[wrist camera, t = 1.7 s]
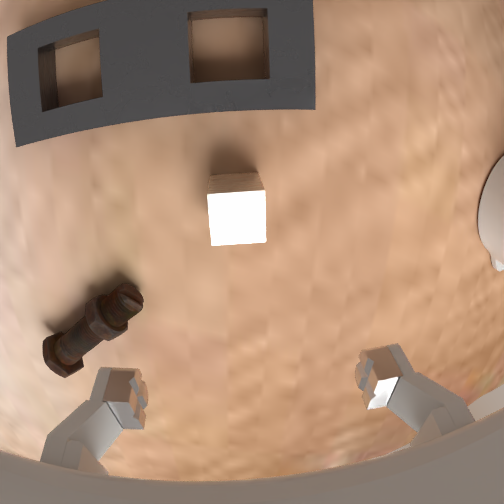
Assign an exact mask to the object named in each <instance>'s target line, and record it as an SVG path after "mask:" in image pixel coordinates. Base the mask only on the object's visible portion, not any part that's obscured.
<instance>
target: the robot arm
mask: <svg viewBox="0 0 504 504" xmlns="http://www.w3.org/2000/svg"><path fill="white" fill-rule="evenodd" d="M478 228H479V235H480V238H481V241H482V243H483V245H484V246H485V248H486V249H487V250H488V251H489V253H490V255H491V261H492V266H493V267H494V268H495V269H496V270H498V271H502V270H504V156H503V157H502V158H501V159H500V160H499V161H498V163H497V164H496V165H495V167H494V168H493V170H492V172H491V174H490V176H489V178H488V180H487V182H486V185H485V187H484V190H483V193H482V197H481V201H480V206H479V214H478ZM359 359H360V362H359V363H358V364H357V365H356V369H355V379H356V383H357V386H358V388H359V389H361V390H362V391H364V392H363V394H362V399H363V401H364V404H365V406H366V409H367V410H369V409H374V408H378V407H383V406H387V408H389V409H390V410H391V411H392V412H393V413H395V414H396V415H397V416H398V417H399V418H401V419H402V420H403V421H404V422H405V423H407V424H408V425H409V426H410V427H412V428H413V429H414V430H415V431H416V432H418V433H417V434H416V435H415V437H414V438H413V440H412V441H411V443H410V446H411V447H409V448H406V449H403V450H400V451H397V452H393V453H390V454H386V455H383V456H379V457H375V458H372V459H368V460H364V461H360V462H356V463H351V464H347V465H343V466H338V467H333V468H328V469H323V470H317V471H311V472H305V473H299V474H292V475H284V476H276V477H267V478H257V479H244V480H225V481H170V480H152V479H139V478H129V477H120V476H112V475H108V471H107V470H106V468H105V467H104V466H103V465H102V464H101V463H100V462H99V459H100V458H101V457H102V456H103V454H104V453H105V452H106V451H107V450H108V448H109V447H110V446H111V445H112V443H113V442H114V441H115V440H116V438H117V437H118V436H119V435H120V433H121V432H122V431H123V429H144V425H145V418H146V414H145V412H144V410H143V409H144V408H145V407H146V406H147V404H148V390H147V386H146V384H145V382H144V381H142V380H141V377H142V374H141V372H140V370H139V369H133V368H110V367H101V368H100V369H99V370H98V373H97V377H96V380H95V383H94V386H93V390H92V393H91V396H90V400H86V401H85V402H84V403H82V404H81V405H80V406H79V407H78V408H77V409H76V410H75V411H74V412H72V413H71V414H70V415H69V416H68V417H67V418H66V419H65V420H64V421H62V422H61V423H60V424H59V425H58V426H57V427H56V428H55V429H53V430H52V431H51V432H50V433H49V434H48V435H47V439H46V442H45V445H44V449H43V452H42V456H41V459H40V461H36V460H32V459H28V458H25V457H21V456H18V455H15V454H12V453H9V452H5V451H2V450H0V504H504V408H502V409H500V410H498V411H496V412H494V413H492V414H490V415H488V416H486V417H484V418H482V419H480V420H478V421H475V420H474V418H473V416H472V414H471V412H470V411H469V409H468V407H467V405H466V403H465V402H464V400H463V398H461V397H460V396H458V395H456V394H454V393H453V392H451V391H449V390H448V389H446V388H444V387H443V386H441V385H439V384H438V383H436V382H434V381H433V380H431V379H429V378H427V377H426V376H424V375H422V374H421V373H419V372H417V373H415V371H414V369H413V368H412V366H411V364H410V362H409V361H408V359H407V357H406V355H405V354H404V352H403V350H402V348H401V347H400V345H399V344H392V345H387V346H381V347H376V348H371V349H365V350H362V351H361V352H360V354H359Z"/></svg>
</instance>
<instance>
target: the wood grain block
mask: <svg viewBox="0 0 504 504" xmlns="http://www.w3.org/2000/svg"><path fill="white" fill-rule="evenodd" d="M207 200H208V211H209V221H210V232H211V241H212V246H214V245H228V244H243V243H258V242H266V218H265V189H264V187H263V184H262V181H261V179H260V176H259V173H258V172H252V173H235V174H220V175H210V178H209V185H208V191H207Z"/></svg>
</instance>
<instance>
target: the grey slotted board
mask: <svg viewBox="0 0 504 504" xmlns="http://www.w3.org/2000/svg"><path fill="white" fill-rule="evenodd" d="M227 17H263V40H264V69H265V79H252V80H229V81H213V82H201V83H194V68H193V47H192V21H191V20H199V19H211V18H227ZM96 37H99V39H100V62H101V78H102V91H103V97H101V98H96V99H91V100H87V101H83V102H79V103H75V104H71V105H67V106H63V107H59V104H58V94H57V82H56V67H55V50H56V49H59V48H62V47H65V46H68V45H71V44H75V43H78V42H81V41H85V40H89V39H92V38H96ZM7 62H8V82H9V95H10V105H11V114H12V122H13V129H14V136H15V142H16V147H19V146H23V145H26V144H30V143H34V142H37V141H41V140H45V139H49V138H53V137H57V136H61V135H65V134H70V133H74V132H79V131H83V130H88V129H93V128H98V127H103V126H109V125H115V124H120V123H126V122H133V121H139V120H146V119H153V118H161V117H169V116H178V115H187V114H198V113H210V112H224V111H242V110H274V109H306V110H315V45H314V18H313V0H106V1H103V2H99V3H95V4H92V5H88V6H85V7H82V8H79V9H76V10H72V11H69V12H66V13H64V14H61V15H58V16H55V17H52V18H50V19H47V20H45V21H42V22H39V23H37V24H35V25H32V26H30V27H27V28H25V29H23V30H21V31H18V32H16V33H14V34H12V35H10V36H8V37H7Z"/></svg>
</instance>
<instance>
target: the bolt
mask: <svg viewBox="0 0 504 504" xmlns="http://www.w3.org/2000/svg"><path fill="white" fill-rule="evenodd" d="M143 302H144V300H143V297H142V295H141V294H140V292H139V291H138V290H137V289H136V288H134V287H133V286H131V285H128V284H125V283H122V284H121V285H119V286H118V287H117V288H116V289H115V290H114V291H113V292H112V293H110V294H109V295H108V296H107V295H100V296H98V297H95V298H93V299H91V300H90V301H89V302H88V303H87V304H86V309H85V317H83V318H82V319H81V320H80V321H79V322H78V323H77V324H76V325H75V326H73V327H72V328H71V329H70V330H69V331H68V332H67V333H66V334H64V333H63V332H59V333H57V334H54V335H51V336H49V337H46V339H45V340H44V341H43V357H44V361H45V363H46V365H47V366H48V367H49V368H50V369H51V370H52V371H53V372H55V373H56V374H58V375H59V376H62V377H64V378H66V377H68V376H70V375H72V374H73V373H75V372H77V371H78V370H80V369H81V368H83V367H84V365H83V359H82V356H83V355H85V354H86V353H87V352H88V351H90V350H91V349H92V348H94V347H95V346H96V345H97V344H99V343H100V342H101V341H102V340H107V341H110V340H112V339H114V338H116V337H118V336H119V335H121V334H122V333H124V332H125V331H126V330H128V320H129V319H131V318H132V317H133V316H135V315H136V314H137V313H139V312H140V311H141V310H142V308H143Z"/></svg>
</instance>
